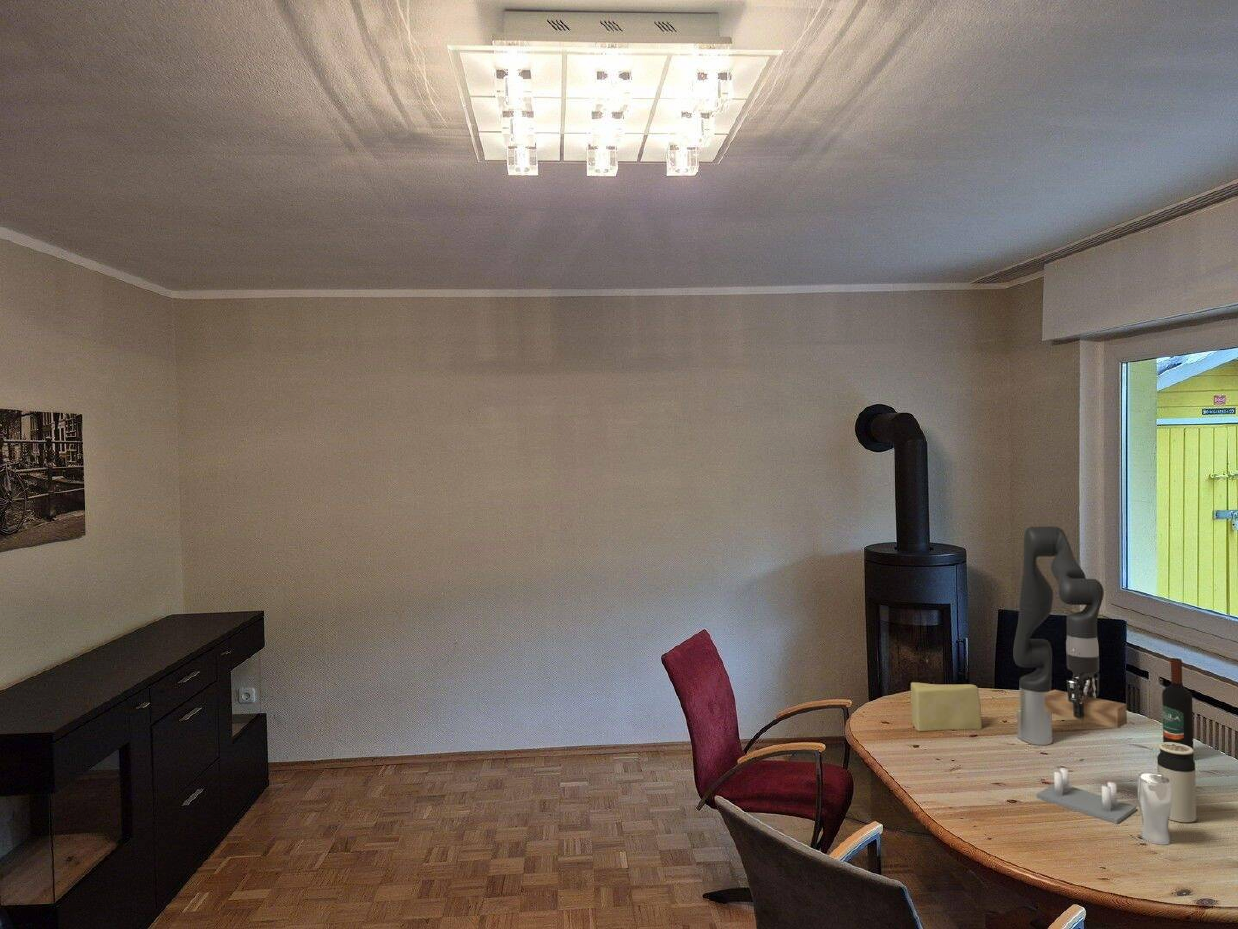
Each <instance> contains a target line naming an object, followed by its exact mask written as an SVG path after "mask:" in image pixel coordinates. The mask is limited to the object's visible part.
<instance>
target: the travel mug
mask: <svg viewBox="0 0 1238 929" xmlns="http://www.w3.org/2000/svg"><path fill="white" fill-rule="evenodd" d="M1157 747H1158V748H1159V753H1158V755H1157V758H1156V759H1157V774H1159V775H1163V776H1165V777H1167V778H1169V779H1170V781H1171V790H1172V807H1171V813H1170V818H1169V821H1170V820H1171V821H1173V822H1177V823H1193V822H1195V821H1196V820H1197V793H1196V792H1197V789H1196V787H1197V785H1196V783H1197V782H1196V762H1195V760H1193V758H1192V753H1193V752H1194V753H1195V751H1194V748H1193V749H1192V748H1191V747H1189V746H1186V745H1183V744H1179V743H1173V742H1163V741H1162V742H1159V743H1158V745H1157Z"/></svg>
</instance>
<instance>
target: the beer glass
mask: <svg viewBox="0 0 1238 929" xmlns="http://www.w3.org/2000/svg"><path fill="white" fill-rule="evenodd" d="M1137 777H1138V779H1137V799H1138V800H1137V801H1138V806H1139V810H1140V814H1141V820H1142V821H1141V822H1142V825H1141V830H1140V837H1141V838H1142V839H1143V840H1145V841H1147V842H1148V843H1151V844H1154V845H1161V846H1166V845H1169V844H1171V842H1172V841H1171V834H1170V831H1169V824H1170V819H1169V818H1170V813H1171V807H1172V790H1171V781H1170V779H1169V778H1167V777H1165V776H1163V775H1159V774H1158V773H1153V772H1141V773H1139V774H1138V775H1137Z"/></svg>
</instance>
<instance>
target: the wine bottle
mask: <svg viewBox="0 0 1238 929" xmlns="http://www.w3.org/2000/svg"><path fill="white" fill-rule="evenodd" d="M1170 679H1171V680H1170V684H1169V685H1168V686H1166V687H1165V688H1163V690H1162V694H1161V703H1162V704H1161V705H1162V710H1161V711H1162V743H1163V742H1173V743H1179V744H1183V745H1186V746H1189V747H1191V748H1192V749H1193V750H1194V718H1193V715H1194V712H1193V709H1194V708H1193V695H1192V693H1191V692H1190V690H1188V689H1187V688H1186V687H1184V685H1183V660H1182V659H1181V658H1176V657H1174V658H1173V657H1172V658H1170ZM1194 754H1195V751H1194V752H1193V753H1192V758H1194V757H1195V756H1194Z"/></svg>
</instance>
